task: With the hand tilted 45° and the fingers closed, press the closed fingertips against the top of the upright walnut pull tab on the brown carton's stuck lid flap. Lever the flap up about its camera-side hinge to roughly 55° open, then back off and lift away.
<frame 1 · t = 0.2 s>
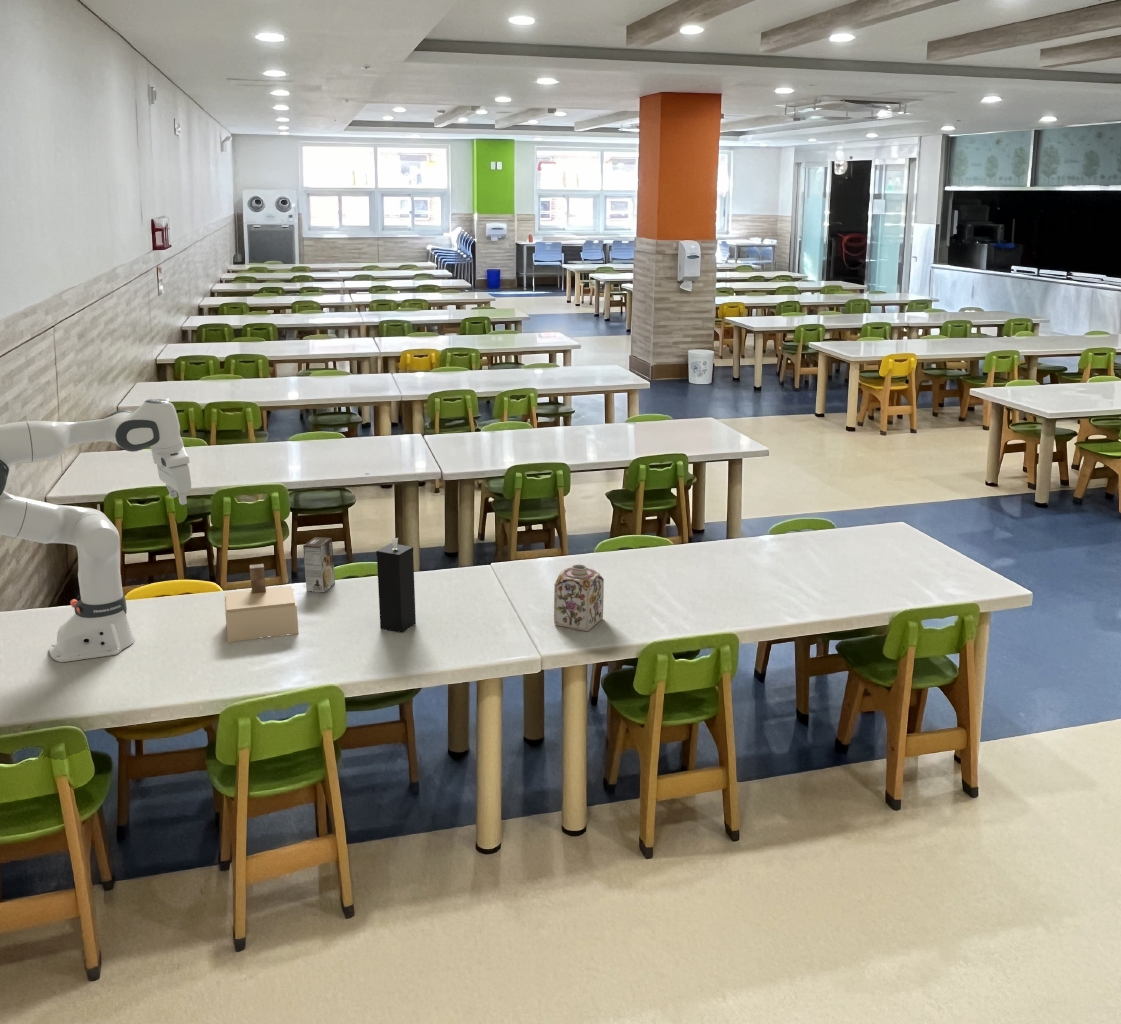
hand: (178, 500, 311), 39 cm above the table, tool pointing down, fingers open, 8 cm apart
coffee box: (320, 588, 354), on the table
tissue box: (398, 627, 324), on the table
lid flap: (258, 586, 318), point 14 cm above the table, hinge at 0.0°
decorative jar: (578, 622, 328), on the table
carton: (262, 628, 322), on the table
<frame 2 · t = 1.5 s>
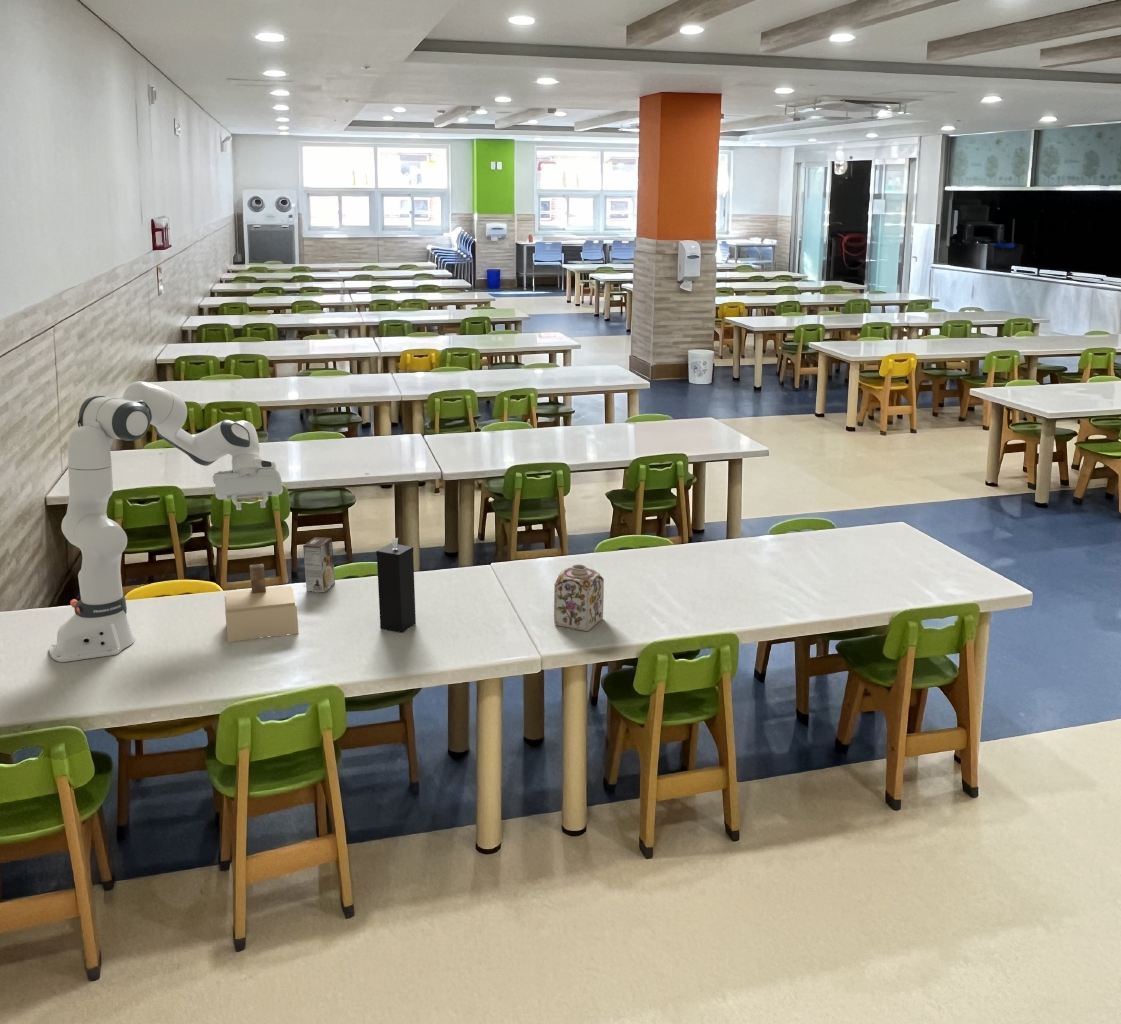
hand: (251, 508, 331), 32 cm above the table, tool tilted 45°, fingers open, 6 cm apart
nothing on the table moved.
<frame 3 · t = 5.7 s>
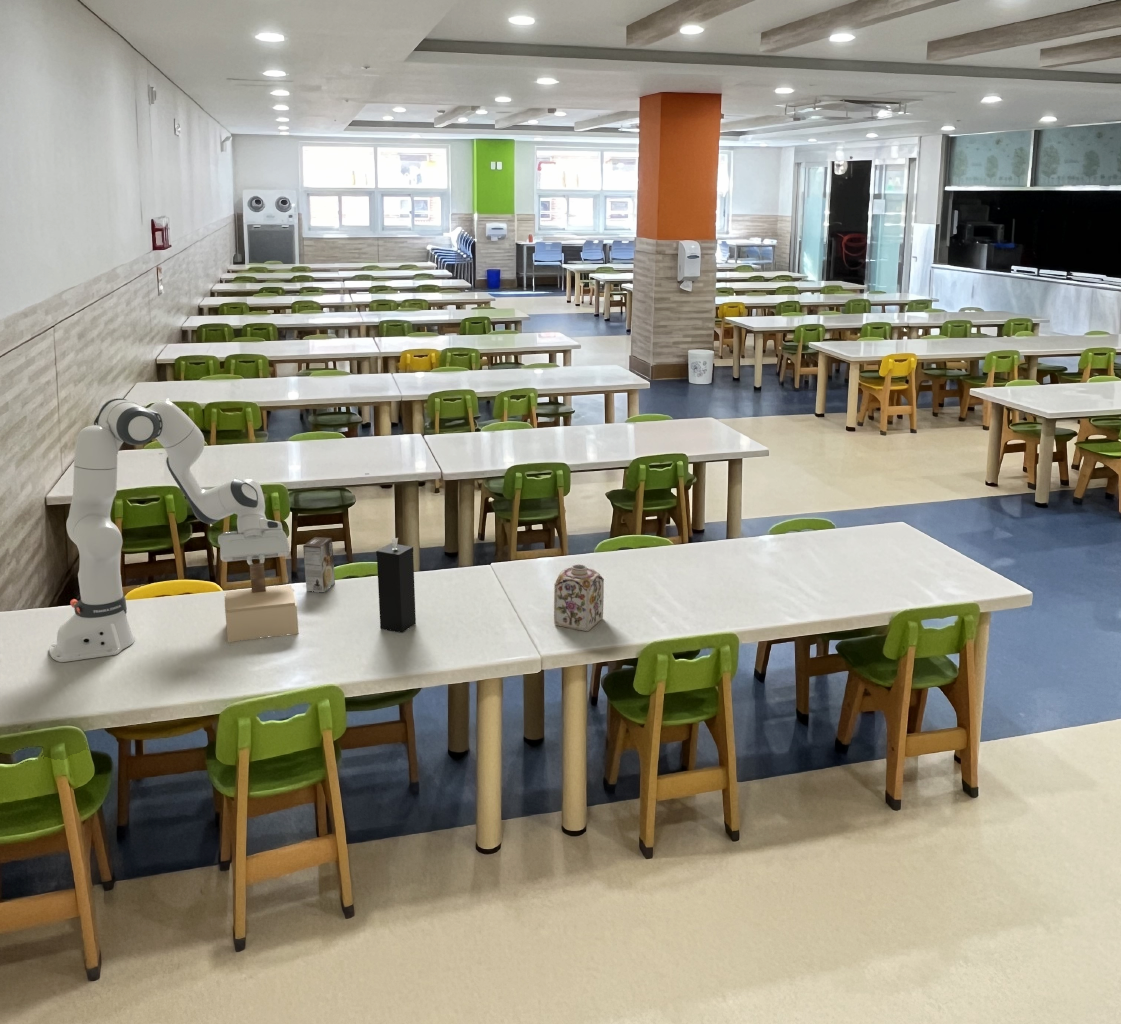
hand: (256, 570, 324), 16 cm above the table, tool tilted 45°, fingers closed, pressing on lid flap
lid flap: (258, 586, 318), point 14 cm above the table, hinge at 1.3°, touching gripper
everything else where it was.
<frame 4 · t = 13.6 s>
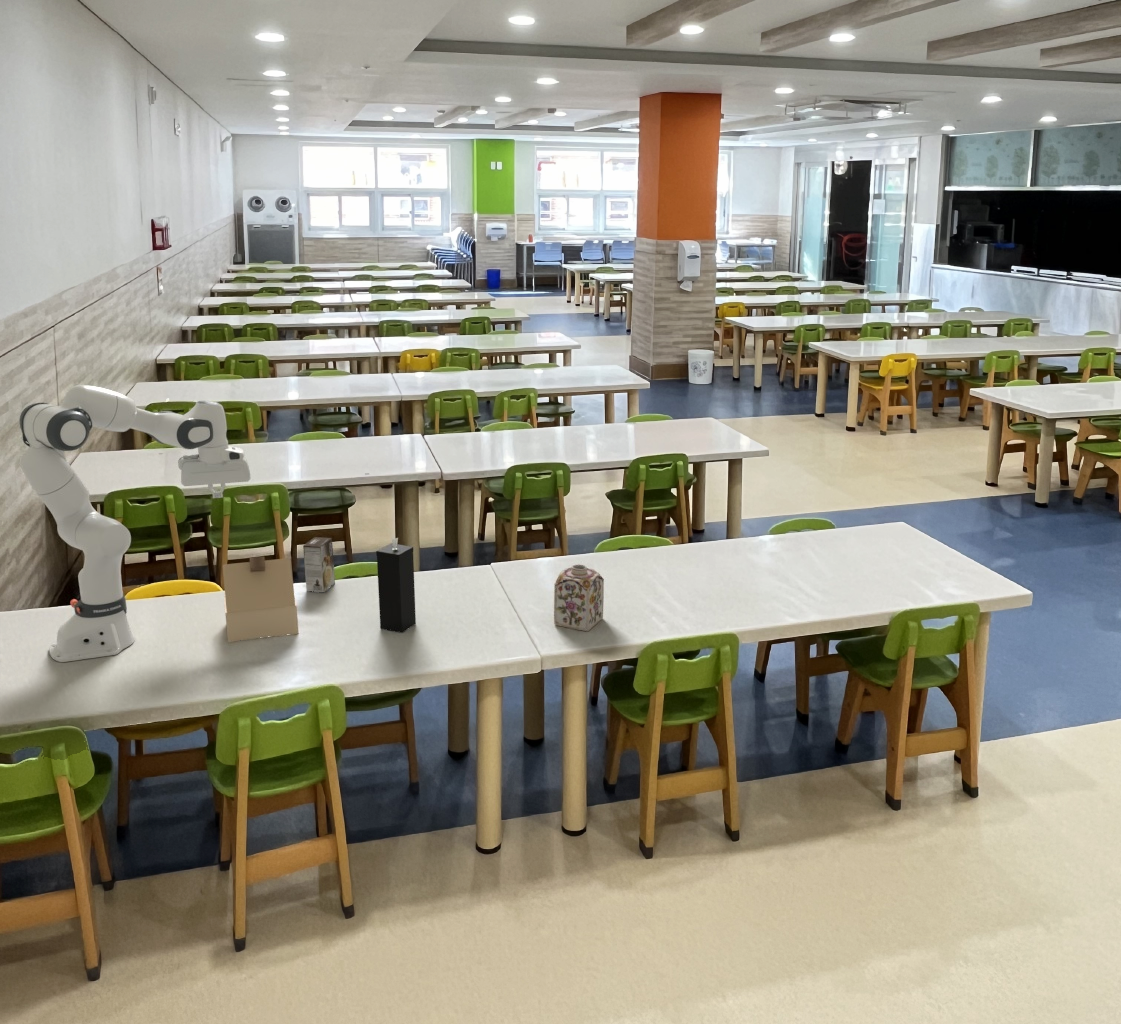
hand: (217, 497, 330), 35 cm above the table, tool pointing down, fingers closed
lid flap: (259, 583, 310), point 17 cm above the table, hinge at 61.8°
everything else where it was.
at the end: lid flap at +62° (first picture: +0°); the gripper is holding nothing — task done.
